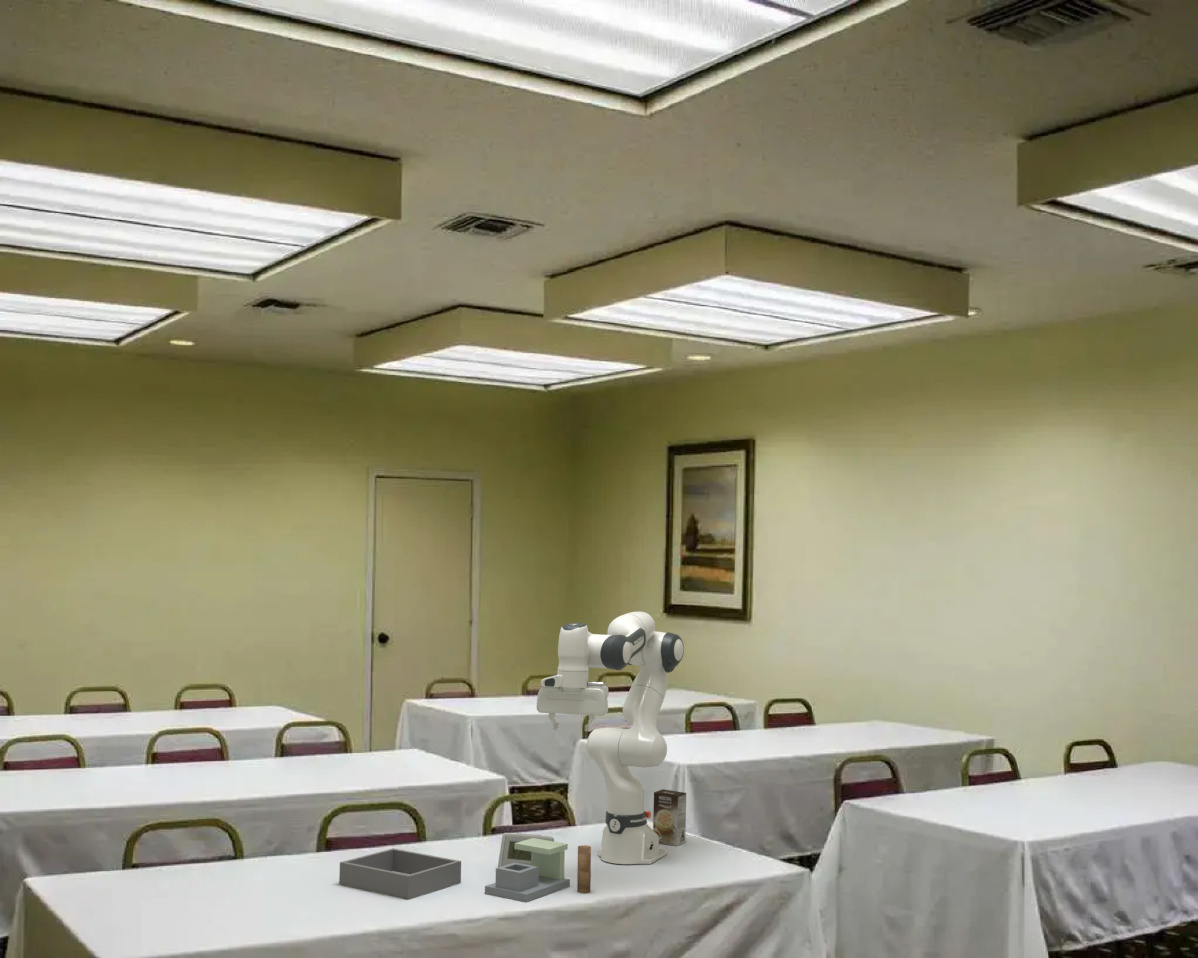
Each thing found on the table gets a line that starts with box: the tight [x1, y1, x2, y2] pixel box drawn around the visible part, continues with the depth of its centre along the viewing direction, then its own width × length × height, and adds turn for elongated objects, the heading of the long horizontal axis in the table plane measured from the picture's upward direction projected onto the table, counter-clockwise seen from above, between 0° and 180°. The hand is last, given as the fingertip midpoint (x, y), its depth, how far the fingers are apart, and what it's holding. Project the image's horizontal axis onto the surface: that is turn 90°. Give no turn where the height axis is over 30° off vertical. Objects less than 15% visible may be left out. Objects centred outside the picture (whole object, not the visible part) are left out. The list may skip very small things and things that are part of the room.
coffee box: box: [652, 788, 687, 847], centre depth 412 cm, size 9×6×16 cm
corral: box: [338, 847, 462, 900], centre depth 355 cm, size 21×25×6 cm
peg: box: [576, 844, 592, 894], centre depth 350 cm, size 4×4×12 cm
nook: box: [484, 838, 571, 903], centre depth 351 cm, size 20×14×12 cm
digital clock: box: [497, 832, 555, 868], centre depth 370 cm, size 16×9×11 cm, turn 60°
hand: (571, 730), depth 361 cm, fingers open, 8 cm apart
